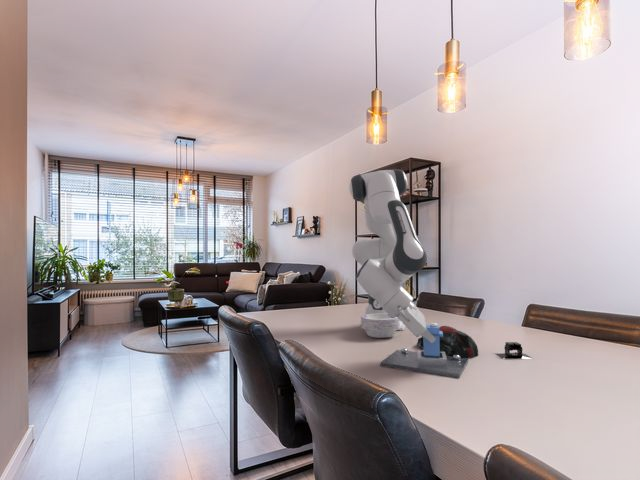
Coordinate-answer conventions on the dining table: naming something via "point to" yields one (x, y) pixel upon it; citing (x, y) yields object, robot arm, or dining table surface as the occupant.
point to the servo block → (434, 347)
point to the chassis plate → (412, 364)
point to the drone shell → (455, 343)
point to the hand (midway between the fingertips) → (433, 338)
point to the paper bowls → (380, 325)
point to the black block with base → (516, 355)
